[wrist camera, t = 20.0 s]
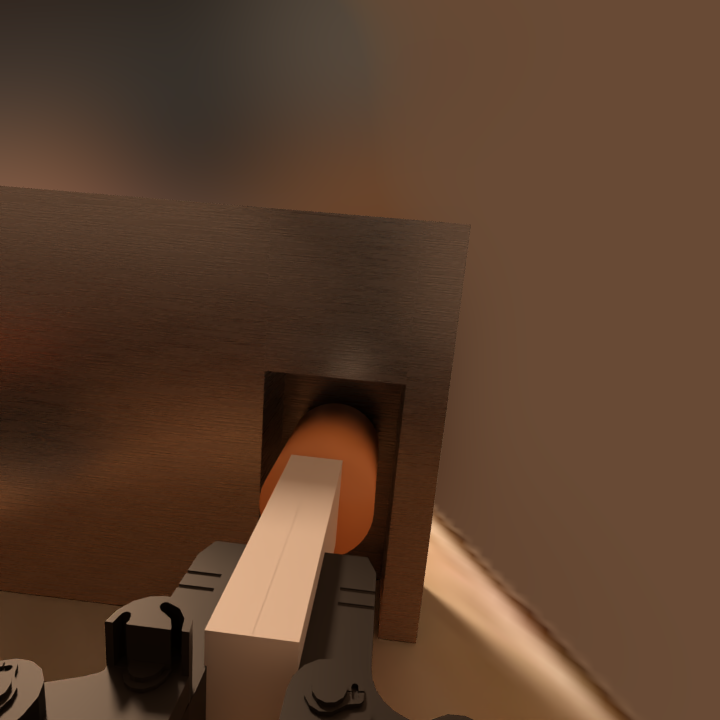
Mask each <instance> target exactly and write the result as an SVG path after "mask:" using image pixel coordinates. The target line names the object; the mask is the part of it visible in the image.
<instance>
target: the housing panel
mask: <svg viewBox="0 0 720 720" xmlns="http://www.w3.org/2000/svg"><path fill="white" fill-rule="evenodd" d="M470 228H471V225H468V224H456V223H444V222H432V221H419V220H406V219H394V218H383V217H369V216H359V215H347V214H335V213H322V212H310V211H298V210H286V209H273V208H262V207H249V206H238V205H225V204H213V203H200V202H189V201H177V200H165V199H153V198H140V197H128V196H115V195H104V194H91V193H79V192H67V191H55V190H43V189H32V188H31V189H30V188H19V187H7V186H0V590H3V591H11V592H19V593H27V594H35V595H43V596H51V597H58V598H66V599H74V600H82V601H90V602H98V603H106V604H114V605H122V606H125V605H127V604H129V603H131V602H132V601H135V600H139V599H143V598H146V597H150V596H168V597H171V596H172V594H173V593H174V591H175V590H176V588H178V587H179V583H180V582H181V580H182V579H183V577H184V575H185V574H186V573H187V572H188V569H189V568H190V566H191V565H192V563H193V561H194V560H195V558H196V557H197V555H198V554H199V553H200V552H202V551H203V550H204V549H206V548H207V547H208V546H210V545H211V544H213V543H214V542H215V541H221V542H229V543H238V544H246V545H247V543H248V541H249V539H250V537H251V535H252V533H253V531H254V529H255V527H256V525H257V523H258V521H259V519H260V517H261V514H260V508H259V500H260V493H261V489H262V486H263V484H264V482H265V480H266V478H267V477H268V475H269V473H270V471H271V469H272V468H273V466H274V464H275V462H276V461H277V459H278V457H279V455H280V454H281V452H282V450H283V448H284V447H285V445H286V443H287V441H288V439H289V438H290V436H291V434H292V432H293V431H294V429H295V427H296V425H297V424H298V422H299V420H300V419H301V418H302V417H303V416H304V415H305V414H306V413H307V412H308V411H310V410H311V409H313V408H315V407H317V406H320V405H324V404H331V403H338V404H344V405H348V406H351V407H353V408H355V409H357V410H359V411H360V412H362V413H363V414H364V415H365V416H366V417H367V418H368V419H369V420H370V421H371V423H372V424H373V426H374V428H375V430H376V432H377V436H378V441H379V452H378V465H377V478H376V491H375V503H374V515H373V521H372V524H371V527H370V529H369V531H368V533H367V535H366V536H365V538H364V539H363V540H362V541H361V542H360V544H359V545H357V546H356V547H355V548H354V549H352V550H351V551H349V552H347V553H345V554H343V555H351V556H359V557H368V559H369V561H370V563H371V564H372V566H373V568H374V570H375V572H376V579H381V582H380V606H379V630H378V638H382V639H390V640H398V641H406V642H413V643H416V638H417V631H418V623H419V615H420V608H421V600H422V593H423V585H424V577H425V570H426V562H427V554H428V547H429V539H430V532H431V524H432V516H433V509H434V500H435V494H436V486H437V478H438V470H439V463H440V456H441V448H442V440H443V433H444V425H445V417H446V410H447V402H448V395H449V386H450V380H451V372H452V364H453V357H454V349H455V341H456V333H457V326H458V318H459V311H460V304H461V296H462V288H463V281H464V273H465V266H466V258H467V250H468V242H469V235H470Z"/></svg>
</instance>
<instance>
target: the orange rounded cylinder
mask: <svg viewBox="0 0 720 720" xmlns="http://www.w3.org/2000/svg"><path fill="white" fill-rule="evenodd" d="M378 452H379V441H378V436H377V432H376V430H375V428H374V426H373V424H372V423H371V421H370V420H369V419H368V418H367V417H366V416H365V415H364V414H363V413H362V412H360V411H359V410H357V409H355V408H353V407H351V406H348V405H344V404H338V403H331V404H324V405H320V406H317V407H315V408H313V409H311V410H310V411H308V412H307V413H306V414H305V415H304V416H303V417H302V418H301V419H300V420H299V422H298V424H297V425H296V427H295V429H294V431H293V432H292V434H291V436H290V438H289V439H288V441H287V443H286V445H285V447H284V448H283V450H282V452H281V454H280V455H279V457H278V459H277V461H276V462H275V464H274V466H273V468H272V469H271V471H270V473H269V475H268V477H267V478H266V480H265V482H264V484H263V486H262V489H261V493H260V500H259V508H260V514H261V515H262V513H263V511H264V509H265V507H266V505H267V503H268V501H269V499H270V497H271V495H272V493H273V491H274V489H275V487H276V485H277V483H278V481H279V479H280V477H281V475H282V473H283V471H284V469H285V467H286V465H287V463H288V461H289V459H290V457H291V455H299V456H308V457H317V458H326V459H335V460H343V462H342V474H341V486H340V497H339V509H338V520H337V532H336V543H335V549H334V554H345V553H347V552H349V551H351V550H352V549H354V548H355V547H356V546H357V545H359V544H360V542H361V541H362V540H363V539H364V538H365V536H366V535H367V533H368V531H369V529H370V527H371V524H372V521H373V515H374V503H375V491H376V478H377V465H378Z"/></svg>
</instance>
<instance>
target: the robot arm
mask: <svg viewBox="0 0 720 720" xmlns="http://www.w3.org/2000/svg"><path fill="white" fill-rule="evenodd" d="M342 462H343V460H335V459H326V458H317V457H308V456H299V455H291V457H290V459H289V461H288V463H287V465H286V467H285V469H284V471H283V473H282V475H281V477H280V479H279V481H278V483H277V485H276V487H275V489H274V491H273V493H272V495H271V497H270V499H269V501H268V503H267V505H266V507H265V509H264V511H263V513H262V515H261V517H260V519H259V521H258V523H257V525H256V527H255V529H254V531H253V533H252V535H251V537H250V539H249V541H248V543H247V545H246V544H238V543H229V542H221V541H215V542H214V543H213V544H211V545H210V546H208V547H207V548H206V549H204V550H203V551H202V552H200V553H199V554H198V555H197V557H196V558H195V560H194V561H193V563H192V565H191V566H190V568H189V569H188V572H187V573H186V574H185V575H184V577H183V579H182V580H181V582H180V583H179V587H178V588H176V590H175V591H174V593H173V594H172V596H171V597H168V596H150V597H146V598H143V599H139V600H135V601H132V602H131V603H129V604H127V605H125V606H123V607H121V608H119V609H118V610H116V611H115V612H114V613H113V614H112V615H111V616H110V617H109V618H108V619H107V620H106V621H105V636H106V660H107V666H106V668H105V669H104V670H103V671H101V672H98V673H95V674H90V675H86V676H82V677H75V678H69V679H63V680H56V681H50V682H44V678H43V672H42V668H40V667H39V666H38V665H37V664H36V663H34V662H33V661H30V660H24V659H18V658H16V659H9V660H2V661H0V720H409V719H407V718H405V717H403V716H402V715H400V714H398V713H397V712H395V711H394V710H392V709H391V708H390V707H389V706H388V705H387V704H386V703H385V702H384V701H383V700H382V698H381V697H380V695H379V694H378V692H377V691H376V688H375V685H374V682H373V680H372V670H371V667H372V648H373V628H374V607H375V589H376V572H375V570H374V568H373V566H372V564H371V563H370V561H369V559H368V557H359V556H351V555H343V554H334V549H335V543H336V532H337V520H338V509H339V497H340V486H341V474H342ZM433 720H473V719H470V718H468V717H466V716H459V715H449V714H448V715H445V716H441V717H438V718H435V719H433Z"/></svg>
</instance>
